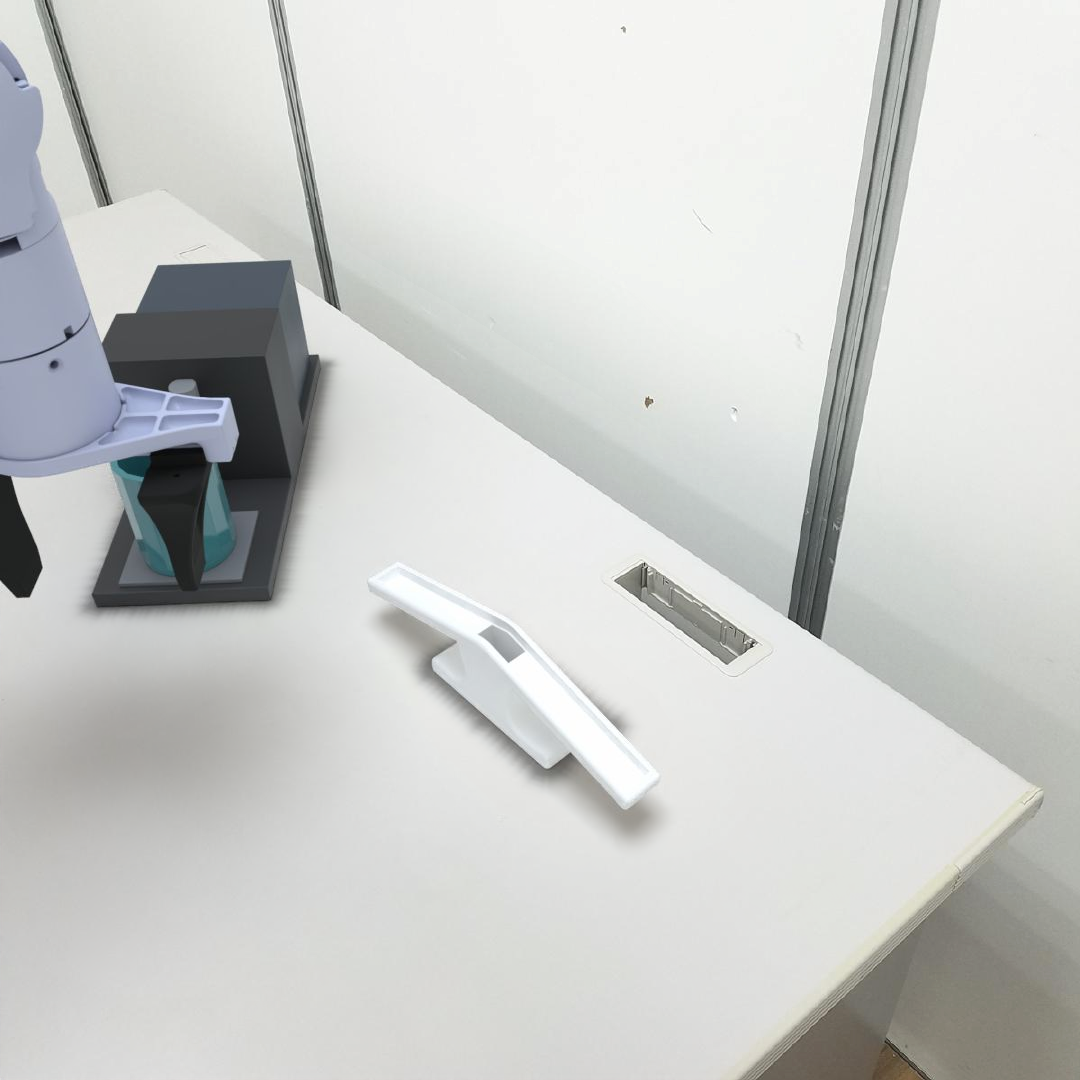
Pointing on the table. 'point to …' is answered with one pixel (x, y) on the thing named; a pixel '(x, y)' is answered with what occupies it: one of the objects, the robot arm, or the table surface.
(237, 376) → the coffee maker
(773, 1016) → the table surface
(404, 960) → the table surface
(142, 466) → the cup
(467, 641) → the t-shaped cleat
